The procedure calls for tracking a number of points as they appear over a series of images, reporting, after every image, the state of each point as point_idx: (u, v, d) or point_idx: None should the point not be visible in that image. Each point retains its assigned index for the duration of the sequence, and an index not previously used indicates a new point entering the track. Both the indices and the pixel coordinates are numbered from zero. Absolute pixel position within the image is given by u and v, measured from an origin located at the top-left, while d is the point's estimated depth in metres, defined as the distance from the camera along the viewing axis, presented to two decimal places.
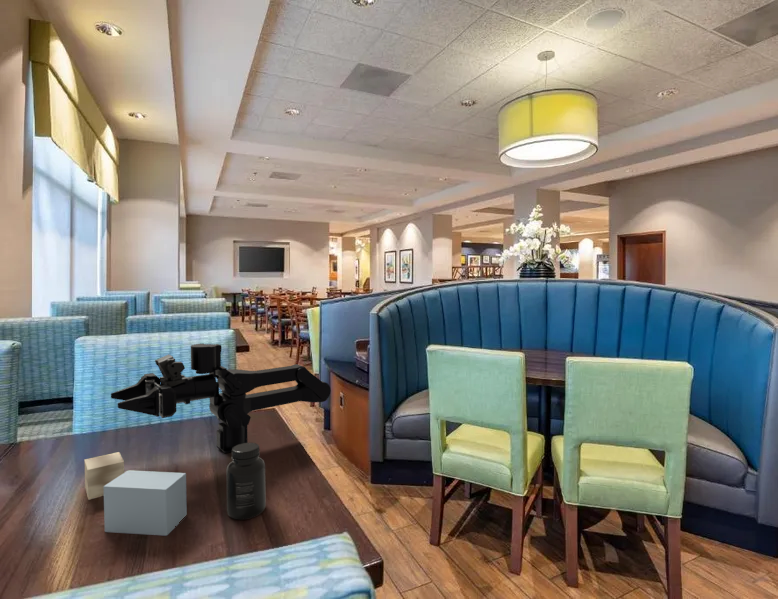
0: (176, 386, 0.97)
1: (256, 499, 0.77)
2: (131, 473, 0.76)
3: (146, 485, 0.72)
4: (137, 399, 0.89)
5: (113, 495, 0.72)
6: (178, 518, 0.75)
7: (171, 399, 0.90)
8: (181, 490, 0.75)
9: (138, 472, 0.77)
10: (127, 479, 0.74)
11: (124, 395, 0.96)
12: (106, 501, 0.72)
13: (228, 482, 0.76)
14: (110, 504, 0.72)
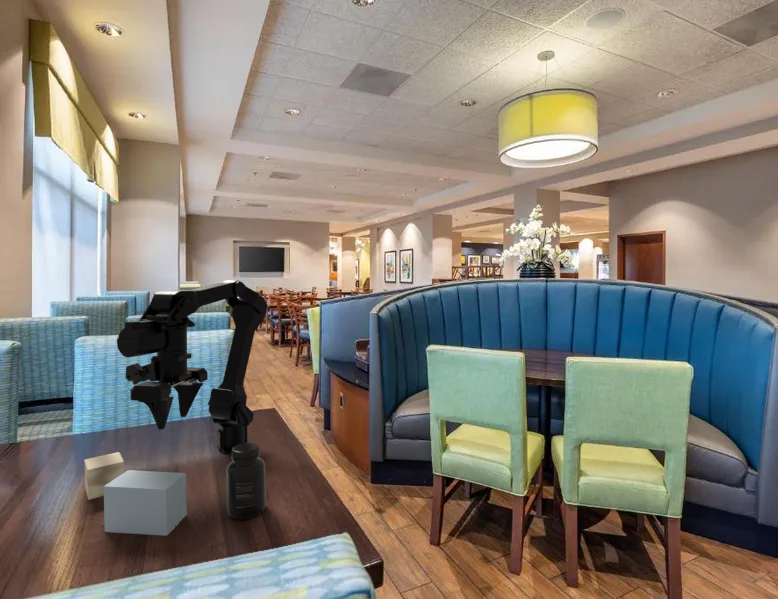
0: (158, 370, 0.88)
1: (256, 499, 0.77)
2: (131, 473, 0.76)
3: (146, 485, 0.72)
4: (153, 414, 0.85)
5: (113, 495, 0.72)
6: (178, 518, 0.75)
7: (139, 391, 0.81)
8: (181, 490, 0.75)
9: (138, 472, 0.77)
10: (127, 479, 0.74)
11: (185, 405, 0.94)
12: (106, 501, 0.72)
13: (228, 482, 0.76)
14: (110, 504, 0.72)
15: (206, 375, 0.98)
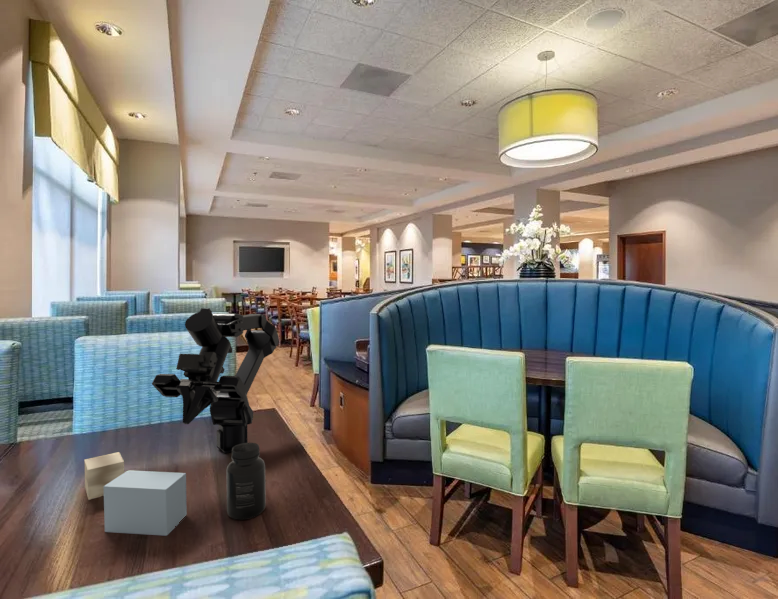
0: None
1: (256, 499, 0.77)
2: (131, 473, 0.76)
3: (146, 485, 0.72)
4: (195, 406, 0.88)
5: (113, 495, 0.72)
6: (178, 518, 0.75)
7: (241, 383, 0.91)
8: (181, 490, 0.75)
9: (138, 472, 0.77)
10: (127, 479, 0.74)
11: None
12: (106, 501, 0.72)
13: (228, 482, 0.76)
14: (110, 504, 0.72)
15: None
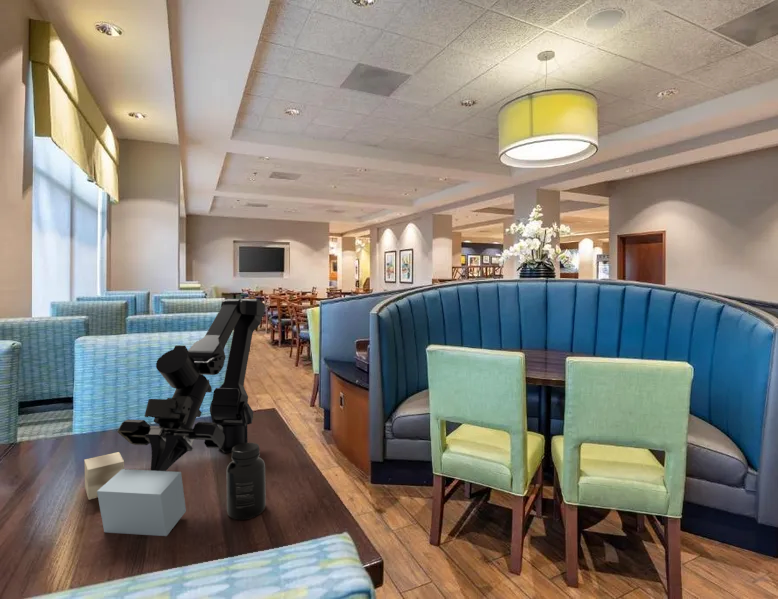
0: (187, 414, 0.83)
1: (256, 499, 0.77)
2: (125, 473, 0.75)
3: (140, 488, 0.71)
4: (166, 458, 0.78)
5: (108, 499, 0.70)
6: (177, 516, 0.74)
7: (219, 431, 0.81)
8: (177, 490, 0.74)
9: (132, 471, 0.75)
10: (121, 481, 0.73)
11: None
12: (101, 504, 0.71)
13: (228, 482, 0.76)
14: (106, 507, 0.71)
15: None
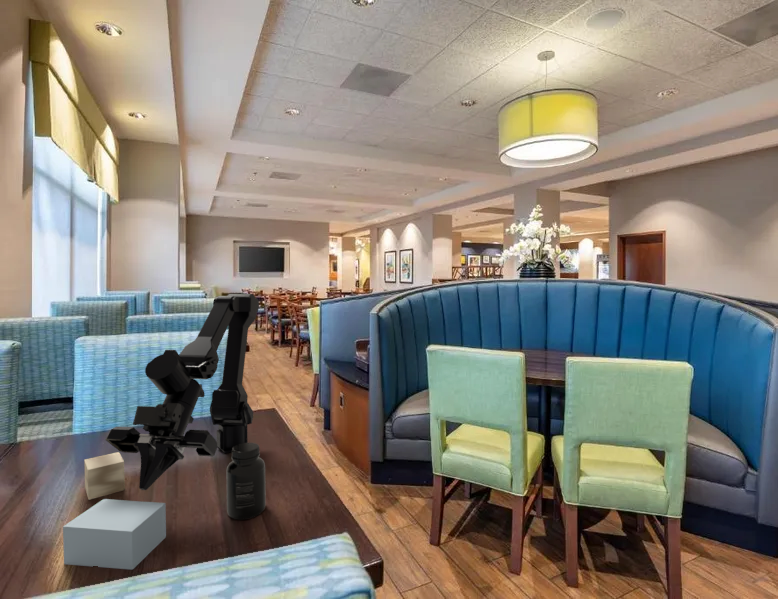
0: (178, 421, 0.80)
1: (256, 499, 0.77)
2: (72, 535, 0.64)
3: (106, 561, 0.63)
4: (156, 468, 0.75)
5: None
6: (161, 521, 0.70)
7: (211, 438, 0.78)
8: (143, 532, 0.65)
9: (78, 531, 0.63)
10: (76, 548, 0.64)
11: None
12: None
13: (228, 482, 0.76)
14: None
15: None
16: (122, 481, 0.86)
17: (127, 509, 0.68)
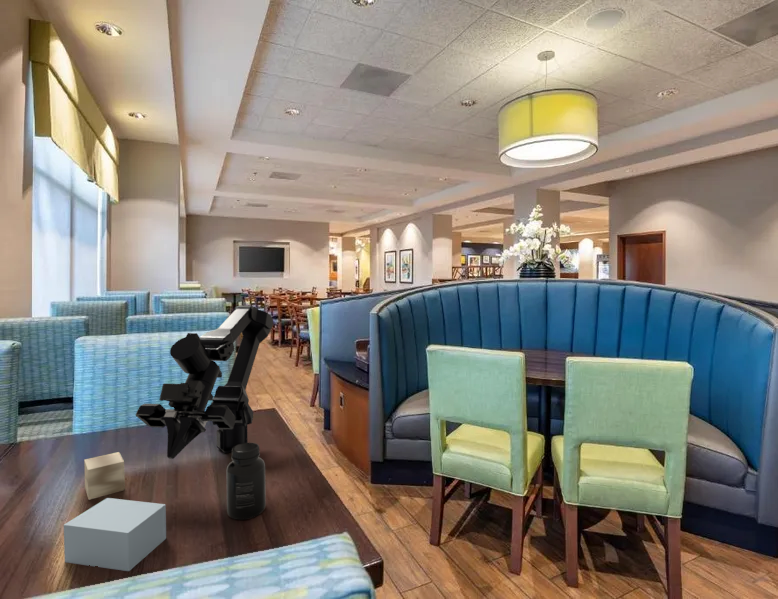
0: (199, 398, 0.88)
1: (256, 499, 0.77)
2: (72, 534, 0.64)
3: (104, 562, 0.63)
4: (181, 439, 0.83)
5: None
6: (161, 522, 0.69)
7: (229, 412, 0.86)
8: (140, 533, 0.65)
9: (77, 530, 0.64)
10: (76, 547, 0.64)
11: None
12: None
13: (228, 482, 0.76)
14: None
15: None
16: (122, 481, 0.86)
17: (127, 509, 0.68)
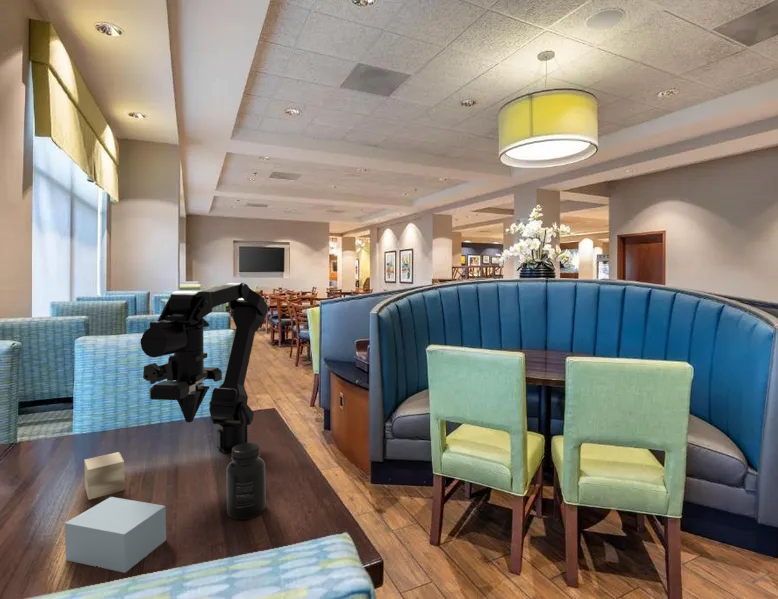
0: (175, 369, 0.89)
1: (256, 499, 0.77)
2: (72, 532, 0.64)
3: (102, 562, 0.63)
4: (181, 408, 0.90)
5: None
6: (160, 524, 0.69)
7: (159, 390, 0.82)
8: (138, 535, 0.64)
9: (77, 529, 0.64)
10: (76, 546, 0.64)
11: None
12: None
13: (228, 482, 0.76)
14: None
15: (220, 375, 0.99)
16: (122, 481, 0.86)
17: (128, 509, 0.68)
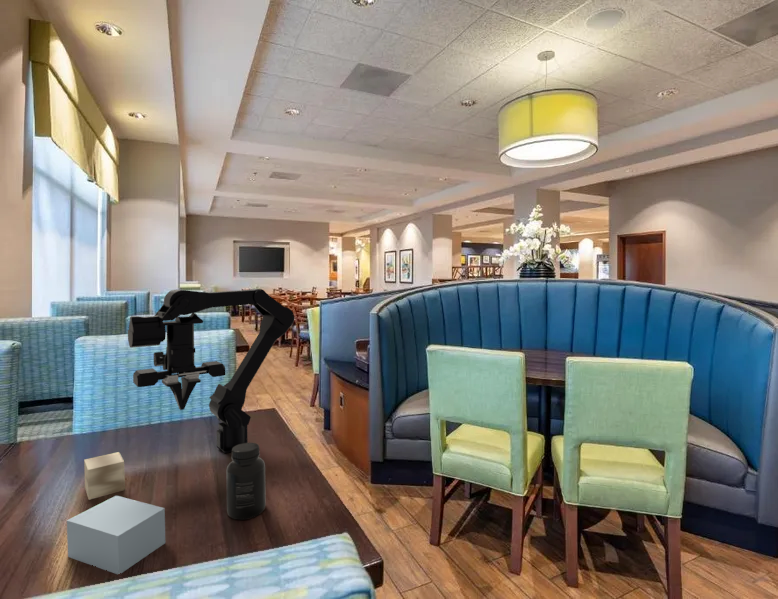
0: None
1: (256, 499, 0.77)
2: (73, 530, 0.65)
3: (99, 562, 0.63)
4: (174, 395, 1.00)
5: None
6: (159, 526, 0.68)
7: (134, 376, 0.94)
8: (133, 537, 0.64)
9: (77, 527, 0.64)
10: (77, 544, 0.65)
11: (183, 398, 1.00)
12: None
13: (228, 482, 0.76)
14: None
15: (221, 371, 1.03)
16: (122, 481, 0.86)
17: (128, 510, 0.68)
